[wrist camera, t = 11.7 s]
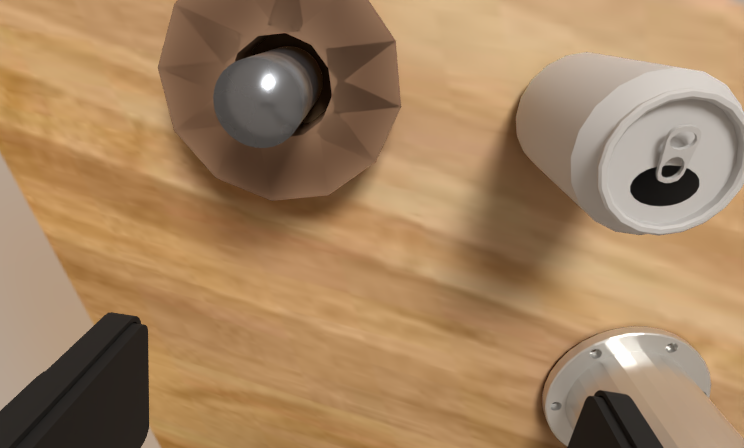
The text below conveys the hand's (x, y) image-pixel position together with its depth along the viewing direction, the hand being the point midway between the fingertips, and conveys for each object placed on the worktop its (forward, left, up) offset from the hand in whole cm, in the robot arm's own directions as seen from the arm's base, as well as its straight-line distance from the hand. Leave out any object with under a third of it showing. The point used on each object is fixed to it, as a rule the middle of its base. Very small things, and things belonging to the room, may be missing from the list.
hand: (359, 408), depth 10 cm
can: (-6, -11, -24) cm, 27 cm away
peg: (+6, +2, -23) cm, 24 cm away
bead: (+6, +2, -23) cm, 24 cm away
